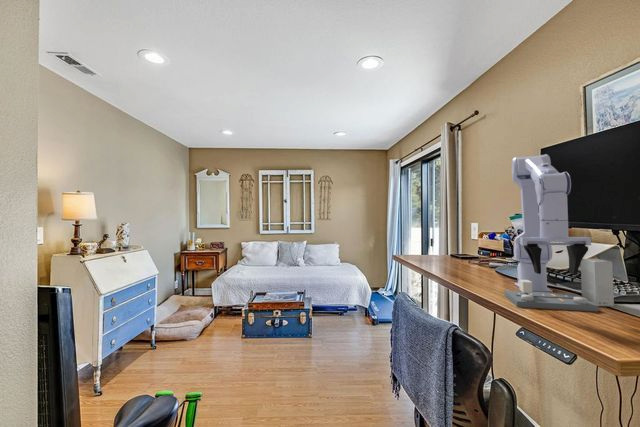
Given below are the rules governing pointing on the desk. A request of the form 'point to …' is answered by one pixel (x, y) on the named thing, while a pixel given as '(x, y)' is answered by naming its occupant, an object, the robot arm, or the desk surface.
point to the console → (551, 300)
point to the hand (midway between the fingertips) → (555, 273)
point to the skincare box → (597, 281)
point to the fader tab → (525, 286)
